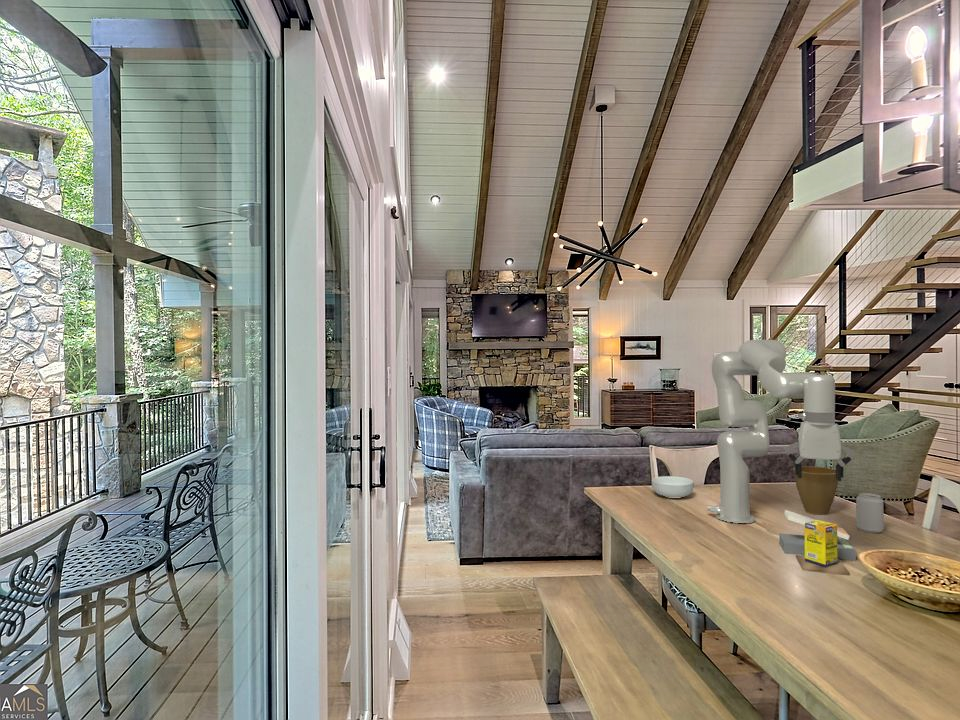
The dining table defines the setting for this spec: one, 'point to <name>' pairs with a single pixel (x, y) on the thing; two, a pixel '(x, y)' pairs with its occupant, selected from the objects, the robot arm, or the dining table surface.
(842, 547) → the grey pedestal base
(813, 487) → the plant pot
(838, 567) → the pad
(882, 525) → the can
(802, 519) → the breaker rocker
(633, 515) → the dining table surface
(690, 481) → the cereal bowl
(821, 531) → the supplement box
